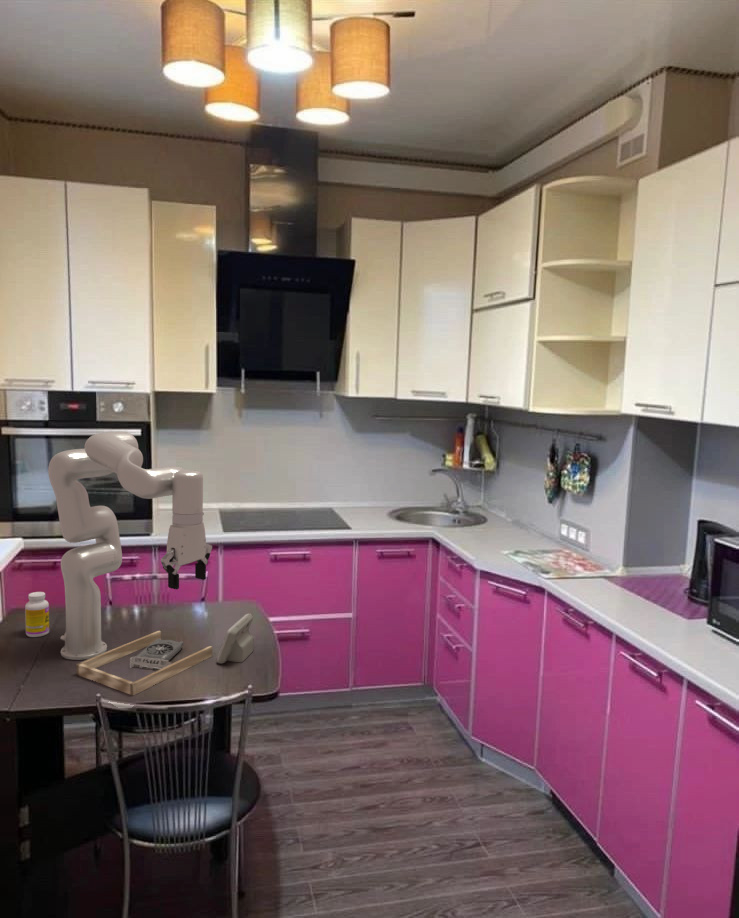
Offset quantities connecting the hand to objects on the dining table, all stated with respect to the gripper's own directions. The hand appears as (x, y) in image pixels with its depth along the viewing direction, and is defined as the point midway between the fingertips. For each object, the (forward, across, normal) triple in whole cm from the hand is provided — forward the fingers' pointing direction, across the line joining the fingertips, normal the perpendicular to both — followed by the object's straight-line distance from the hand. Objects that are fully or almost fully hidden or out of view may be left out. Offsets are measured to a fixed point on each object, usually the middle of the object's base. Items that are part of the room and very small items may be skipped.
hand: (187, 583), depth 175 cm
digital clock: (+29, -24, -4) cm, 38 cm away
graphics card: (+30, -10, -20) cm, 37 cm away
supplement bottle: (+29, -2, -65) cm, 71 cm away
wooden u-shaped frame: (+29, -5, -20) cm, 35 cm away
